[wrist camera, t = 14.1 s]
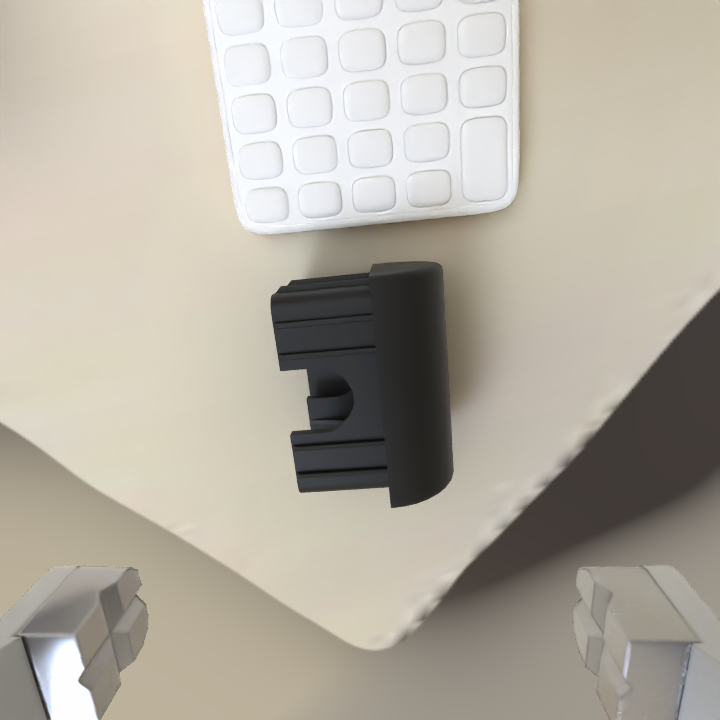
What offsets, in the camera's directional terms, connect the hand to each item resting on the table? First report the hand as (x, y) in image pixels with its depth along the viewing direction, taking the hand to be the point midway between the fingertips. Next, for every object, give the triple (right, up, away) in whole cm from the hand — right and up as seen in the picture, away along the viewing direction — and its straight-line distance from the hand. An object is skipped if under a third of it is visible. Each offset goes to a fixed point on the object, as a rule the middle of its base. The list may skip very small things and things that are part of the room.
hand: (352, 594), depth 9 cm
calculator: (0, +21, +12) cm, 24 cm away
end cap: (+1, +5, +17) cm, 17 cm away
